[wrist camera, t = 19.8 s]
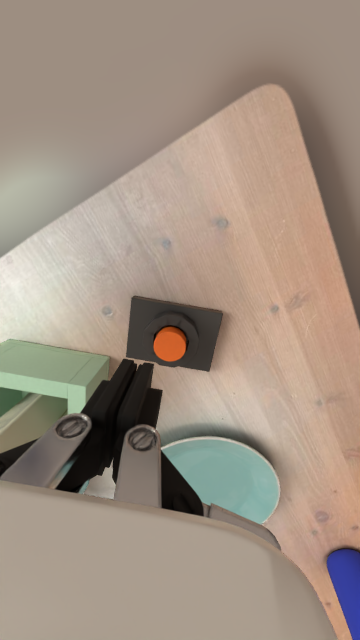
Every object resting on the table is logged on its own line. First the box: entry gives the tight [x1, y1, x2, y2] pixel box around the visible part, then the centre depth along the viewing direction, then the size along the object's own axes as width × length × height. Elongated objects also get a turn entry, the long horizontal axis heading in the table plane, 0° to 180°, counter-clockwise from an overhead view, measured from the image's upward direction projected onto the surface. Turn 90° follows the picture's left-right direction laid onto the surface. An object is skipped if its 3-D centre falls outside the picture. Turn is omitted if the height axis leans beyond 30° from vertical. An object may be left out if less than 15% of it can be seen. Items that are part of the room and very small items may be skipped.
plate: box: [161, 436, 280, 525], centre depth 34 cm, size 22×22×3 cm
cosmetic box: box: [0, 392, 68, 453], centre depth 25 cm, size 6×4×12 cm
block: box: [126, 296, 223, 372], centre depth 27 cm, size 11×8×3 cm
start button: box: [154, 327, 186, 361], centre depth 25 cm, size 4×4×2 cm
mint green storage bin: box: [0, 339, 110, 417], centre depth 29 cm, size 14×14×7 cm
